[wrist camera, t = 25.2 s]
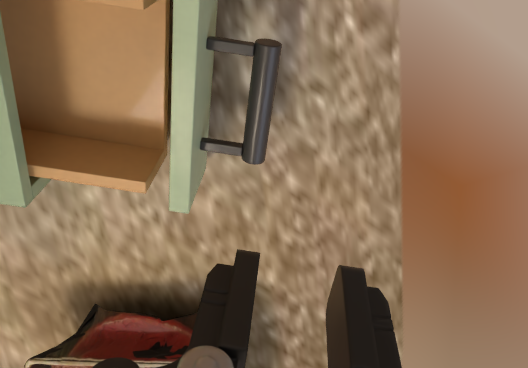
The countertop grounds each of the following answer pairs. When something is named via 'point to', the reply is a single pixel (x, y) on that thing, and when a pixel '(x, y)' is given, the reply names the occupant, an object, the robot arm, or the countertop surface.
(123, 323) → the baking dish
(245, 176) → the countertop surface
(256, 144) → the drawer
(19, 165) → the cabinet
